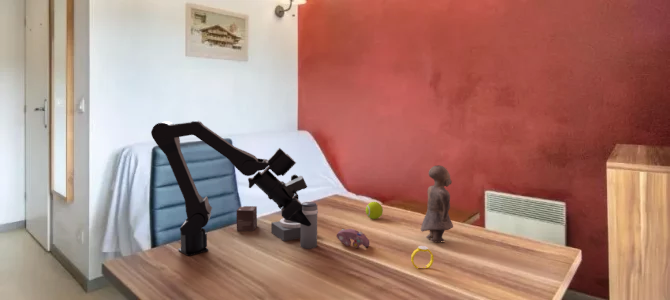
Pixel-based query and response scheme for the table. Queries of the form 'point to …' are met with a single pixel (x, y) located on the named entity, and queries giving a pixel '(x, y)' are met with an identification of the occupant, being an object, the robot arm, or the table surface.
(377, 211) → the tennis ball
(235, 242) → the table surface
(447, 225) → the clay figurine
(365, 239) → the video game controller
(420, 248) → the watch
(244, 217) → the box
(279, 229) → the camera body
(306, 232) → the grey travel tumbler
